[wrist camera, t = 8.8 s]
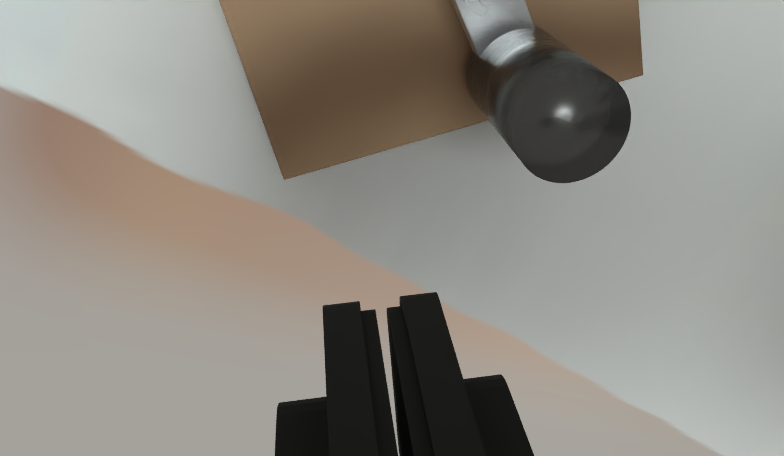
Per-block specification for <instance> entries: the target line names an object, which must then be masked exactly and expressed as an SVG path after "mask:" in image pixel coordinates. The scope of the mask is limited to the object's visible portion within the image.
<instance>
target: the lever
mask: <svg viewBox="0 0 784 456" xmlns="http://www.w3.org/2000/svg"><path fill="white" fill-rule="evenodd" d="M451 1H452V3H453V6H454V8H455V10H456V13H457V15H458V17H459V20H460V22H461V25H462V27H463V29H464V32H465V34H466V36H467V39H468V41H469V44H470V46H471V48H472V53H471V55H470V57H469V60H468V63H467V69H466V83H467V88H468V91H469V94H470V95H471V97H472V99H473V100H474V102H475V103H476V104H477V106H478V107H479V108H480V110H481V111H482V112H483V113H484V115H485V116H486V117H487V118H488V120H489V121H490V122H491V124H492V125H493V126H494V127H495V129H496V130H497V131H498V132H499V134H500V135H501V136H502V137H503V139H504V140H505V141H506V143H507V144H508V145H509V146H510V148H511V149H512V150H513V151H514V153H515V154H516V155H517V157H518V158H519V159H520V160H521V162H522V163H523V164H524V165H525V167H526V168H527V169H528V170H529V171H530V172H531V173H533V174H534V175H535V176H537V177H539V178H541V179H543V180H546V181H550V182H555V183H570V182H576V181H579V180H583V179H585V178H588V177H590V176H592V175H594V174H595V173H597V172H599V171H600V170H602V169H603V168H604V167H605V166H607V165H608V164H609V163H610V162H611V161H612V160H613V159H614V157H615V156H616V155H617V154H618V152H619V151H620V149H621V148H622V146H623V144H624V142H625V140H626V138H627V135H628V132H629V128H630V122H631V110H630V104H629V100H628V98H627V95H626V93H625V92H624V90H623V88H622V87H621V86H620V85H619V83H618V82H617V81H615V80H614V79H613V78H612V77H610V76H609V75H607V74H606V73H604V72H603V71H602V70H600V69H599V68H597V67H596V66H594V65H593V64H592V63H590V62H589V61H587V60H586V59H584V58H583V57H581V56H580V55H579V54H577V53H576V52H574V51H573V50H571V49H570V48H568V47H567V46H566V45H564V44H563V43H561V42H560V41H558V40H557V39H556V38H554V37H553V36H551V35H550V34H548V33H547V32H545V31H544V30H543V29H541V28H539V27H537V26H535V25H533V22H532V19H531V16H530V14H529V11H528V8H527V5H526V3H525V0H451Z"/></svg>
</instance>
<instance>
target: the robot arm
mask: <svg viewBox="0 0 784 456" xmlns="http://www.w3.org/2000/svg"><path fill="white" fill-rule="evenodd" d="M387 319H388V320H387V321H388V332H389V343H390V355H391V366H392V378H393V389H394V400H395V411H396V423H397V435H398V445H399V454H400V456H534V454H533V452H532V449H531V446H530V443H529V441H528V438H527V436H526V433H525V430H524V428H523V425H522V422H521V420H520V417H519V414H518V412H517V409H516V407H515V404H514V401H513V399H512V396H511V393H510V391H509V388H508V385H507V383H506V381H505V379H504V378H503V376H502V375H493V376H485V377H477V378H469V379H463V377H462V374H461V371H460V367H459V364H458V360H457V357H456V354H455V351H454V347H453V344H452V340H451V337H450V334H449V330H448V327H447V324H446V320H445V317H444V314H443V311H442V307H441V303H440V300H439V297H438V294H437V293H436V292H433V293H424V294H416V295H408V296H401V297H400V306H399V307H390V308H387ZM323 325H324V347H325V370H326V371H325V372H326V394H327V397H321V398H314V399H305V400H297V401H289V402H282V403H279V404H278V407H277V420H276V442H275V456H398V453H397V446H396V439H395V433H394V427H393V421H392V414H391V407H390V401H389V394H388V388H387V382H386V375H385V369H384V362H383V356H382V350H381V343H380V337H379V330H378V324H377V318H376V311H375V309H374V310H365V311H361V310H360V302H359V301H358V302H349V303H341V304H333V305H325V306H323Z"/></svg>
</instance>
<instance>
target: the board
mask: <svg viewBox="0 0 784 456" xmlns="http://www.w3.org/2000/svg"><path fill="white" fill-rule="evenodd" d="M219 1H220V4H221V7H222V9H223V12H224V15H225V18H226V20H227V23H228V26H229V29H230V32H231V34H232V37H233V40H234V43H235V45H236V48H237V51H238V54H239V56H240V59H241V62H242V65H243V68H244V70H245V73H246V76H247V79H248V81H249V84H250V87H251V90H252V92H253V95H254V98H255V101H256V104H257V106H258V109H259V112H260V115H261V117H262V120H263V123H264V126H265V128H266V131H267V134H268V137H269V140H270V142H271V145H272V148H273V151H274V153H275V156H276V159H277V162H278V164H279V167H280V170H281V173H282V176H283V178H284V180H285V179H289V178H292V177H296V176H299V175H302V174H306V173H309V172H313V171H316V170H320V169H323V168H326V167H330V166H333V165H337V164H340V163H343V162H347V161H350V160H354V159H357V158H361V157H364V156H367V155H371V154H374V153H378V152H381V151H385V150H388V149H391V148H395V147H398V146H402V145H405V144H409V143H412V142H415V141H419V140H422V139H426V138H429V137H432V136H436V135H439V134H443V133H446V132H450V131H453V130H456V129H460V128H463V127H467V126H470V125H474V124H477V123H480V122H484V121H487V120H488V118H487V117H486V116H485V115H484V113H483V112H482V111H481V110H480V108H479V107H478V106H477V104H476V103H475V102H474V100H473V99H472V97H471V95H470V94H469V91H468V88H467V83H466V69H467V63H468V60H469V57H470V55H471V53H472V48H471V46H470V44H469V41H468V39H467V36H466V34H465V32H464V29H463V27H462V25H461V22H460V20H459V17H458V15H457V13H456V10H455V8H454V6H453V3H452V1H451V0H219ZM525 3H526V5H527V8H528V11H529V14H530V16H531V19H532V22H533V25H535V26H537V27H539V28H541V29H543V30H544V31H545V32H547V33H548V34H550V35H551V36H553V37H554V38H556V39H557V40H558V41H560V42H561V43H563V44H564V45H566V46H567V47H568V48H570V49H571V50H573V51H574V52H576V53H577V54H579V55H580V56H581V57H583V58H584V59H586V60H587V61H589V62H590V63H592V64H593V65H594V66H596V67H597V68H599V69H600V70H602V71H603V72H604V73H606V74H607V75H609V76H610V77H612V78H613V79H614V80H615V81H617V82H621V81H624V80H628V79H631V78H634V77H638V76H641V75H643V67H642V51H641V35H640V19H639V4H638V0H525Z"/></svg>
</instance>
